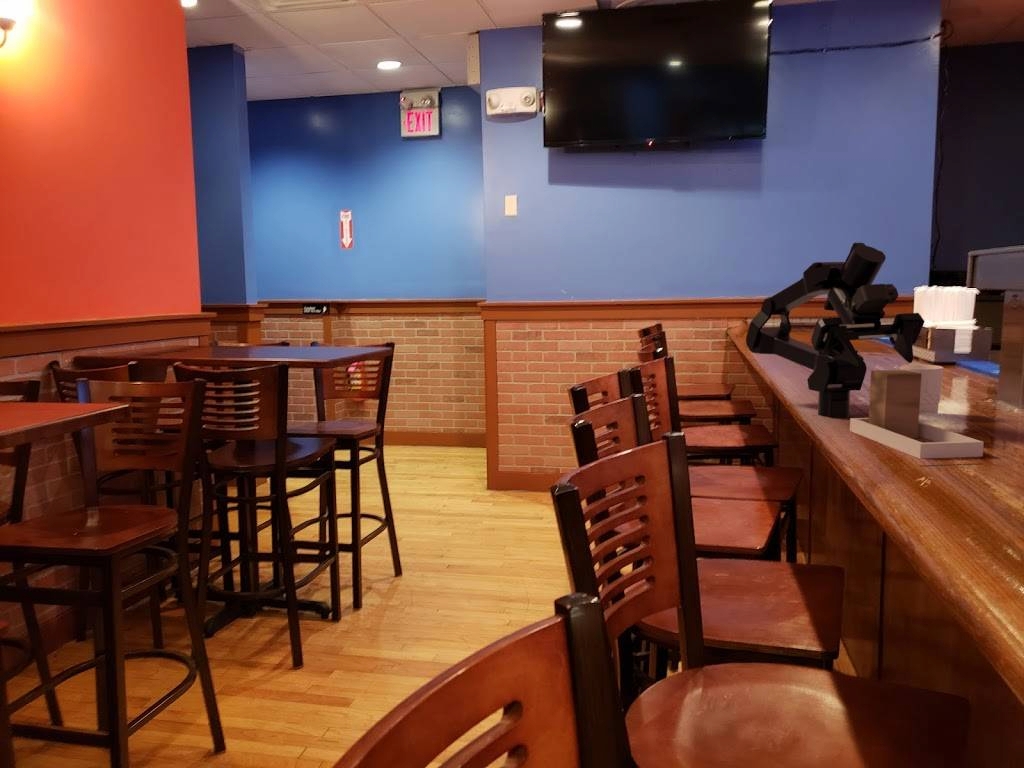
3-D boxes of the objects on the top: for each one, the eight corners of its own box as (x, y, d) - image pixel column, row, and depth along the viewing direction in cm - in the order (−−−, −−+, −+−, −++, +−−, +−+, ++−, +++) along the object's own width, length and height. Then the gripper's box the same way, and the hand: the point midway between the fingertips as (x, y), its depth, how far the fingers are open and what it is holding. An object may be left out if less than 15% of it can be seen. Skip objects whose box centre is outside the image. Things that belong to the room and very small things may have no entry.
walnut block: (867, 433, 136) (871, 370, 135) (900, 432, 137) (904, 369, 135) (883, 439, 131) (887, 374, 130) (917, 437, 132) (921, 373, 130)
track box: (849, 437, 139) (850, 418, 138) (903, 435, 140) (904, 416, 139) (919, 466, 118) (920, 444, 118) (982, 464, 119) (983, 441, 118)
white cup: (948, 418, 155) (951, 368, 154) (908, 418, 155) (911, 369, 154) (928, 411, 163) (931, 364, 161) (890, 411, 163) (892, 364, 162)
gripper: (813, 274, 140) (844, 329, 129) (915, 268, 141) (955, 323, 130) (799, 322, 148) (827, 378, 137) (895, 317, 149) (932, 372, 137)
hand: (885, 362), depth 135 cm, fingers open, 9 cm apart
